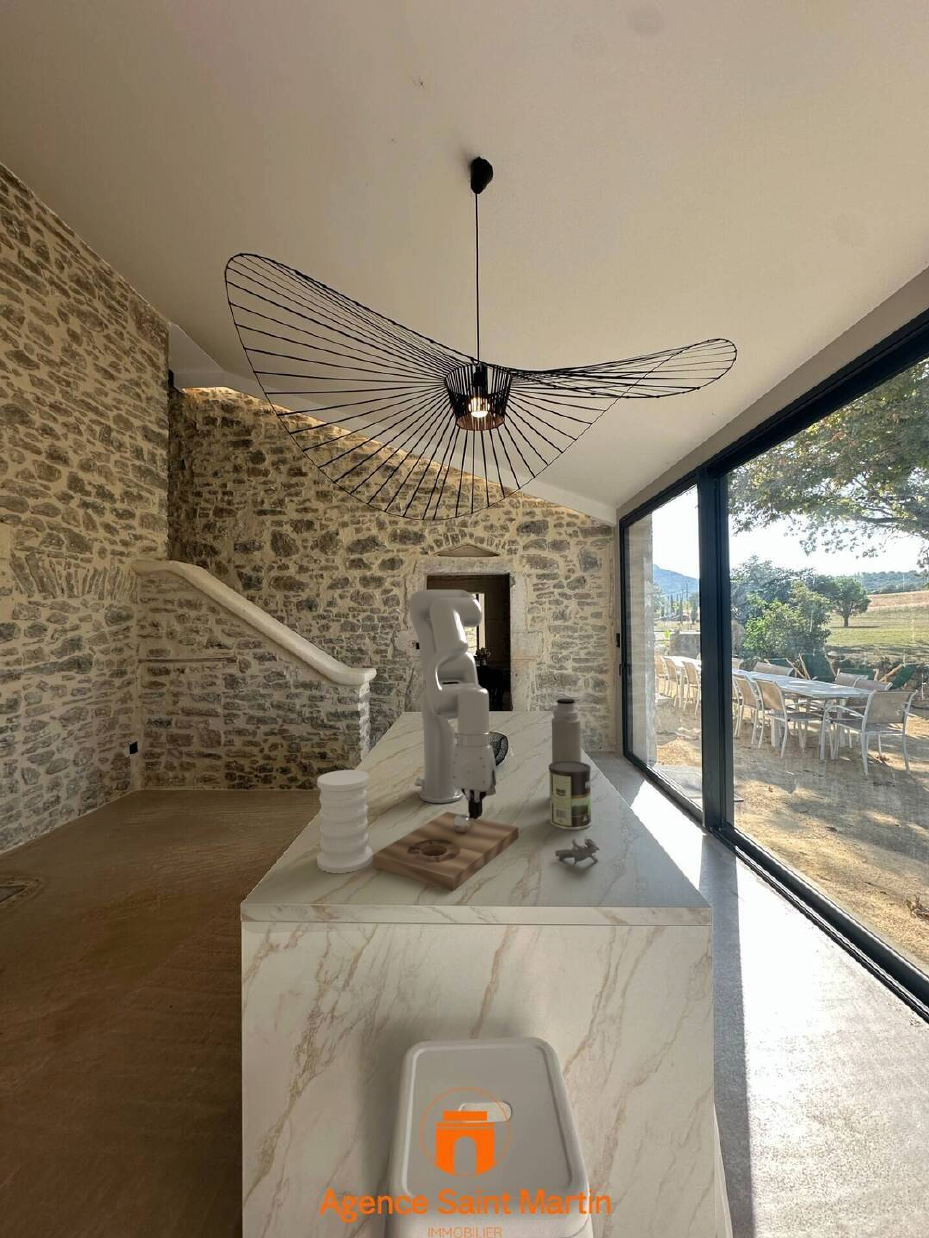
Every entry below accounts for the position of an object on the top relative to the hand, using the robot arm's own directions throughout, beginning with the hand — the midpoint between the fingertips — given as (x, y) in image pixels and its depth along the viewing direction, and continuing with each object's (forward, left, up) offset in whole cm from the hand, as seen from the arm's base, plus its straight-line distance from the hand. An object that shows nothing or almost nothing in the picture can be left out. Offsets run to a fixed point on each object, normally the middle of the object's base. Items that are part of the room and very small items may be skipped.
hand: (475, 816), depth 129 cm
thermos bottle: (+10, +34, -4) cm, 36 cm away
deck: (0, -11, -4) cm, 11 cm away
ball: (0, -6, 0) cm, 6 cm away
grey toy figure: (+26, -3, -5) cm, 27 cm away
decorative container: (-17, -26, -5) cm, 31 cm away
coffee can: (+17, +18, -5) cm, 25 cm away
